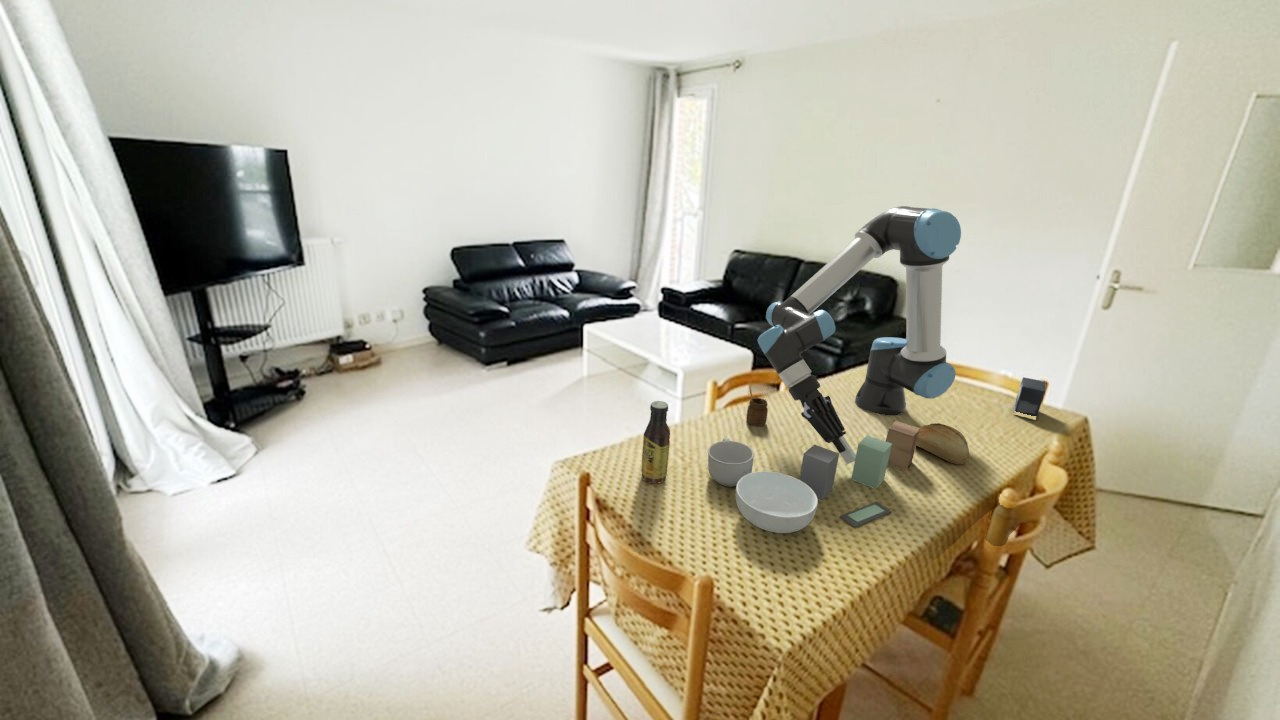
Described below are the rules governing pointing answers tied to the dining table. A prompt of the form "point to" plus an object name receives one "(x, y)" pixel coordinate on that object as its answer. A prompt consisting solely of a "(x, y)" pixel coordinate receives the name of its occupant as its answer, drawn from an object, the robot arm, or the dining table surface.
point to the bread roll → (944, 442)
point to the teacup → (729, 461)
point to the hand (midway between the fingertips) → (852, 461)
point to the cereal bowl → (776, 501)
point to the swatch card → (865, 514)
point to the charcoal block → (819, 470)
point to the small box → (1030, 396)
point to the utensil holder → (757, 410)
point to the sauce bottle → (656, 444)
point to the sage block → (871, 461)
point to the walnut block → (902, 444)
